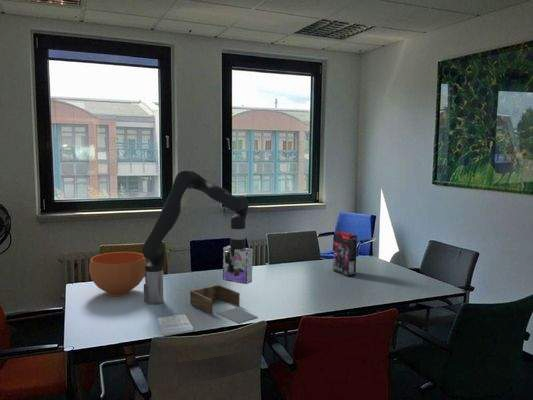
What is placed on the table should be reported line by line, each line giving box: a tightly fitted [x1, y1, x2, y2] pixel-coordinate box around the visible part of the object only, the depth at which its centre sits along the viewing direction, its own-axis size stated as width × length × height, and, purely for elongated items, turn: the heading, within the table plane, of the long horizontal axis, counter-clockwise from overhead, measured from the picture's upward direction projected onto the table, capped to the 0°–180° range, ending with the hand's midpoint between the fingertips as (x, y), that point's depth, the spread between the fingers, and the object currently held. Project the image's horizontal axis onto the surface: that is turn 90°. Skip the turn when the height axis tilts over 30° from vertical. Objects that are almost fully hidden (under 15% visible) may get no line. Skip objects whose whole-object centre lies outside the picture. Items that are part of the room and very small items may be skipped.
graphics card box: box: [332, 231, 358, 277], centre depth 298 cm, size 17×7×27 cm, turn 28°
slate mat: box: [217, 307, 258, 324], centre depth 220 cm, size 12×17×1 cm
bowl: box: [88, 251, 148, 298], centre depth 250 cm, size 30×30×20 cm
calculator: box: [157, 314, 194, 336], centre depth 206 cm, size 13×20×2 cm, turn 22°
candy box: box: [222, 245, 254, 285], centre depth 217 cm, size 14×6×16 cm, turn 62°
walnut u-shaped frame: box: [189, 284, 241, 315], centre depth 234 cm, size 18×19×7 cm
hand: (237, 270), depth 217 cm, fingers closed on candy box, 7 cm apart
